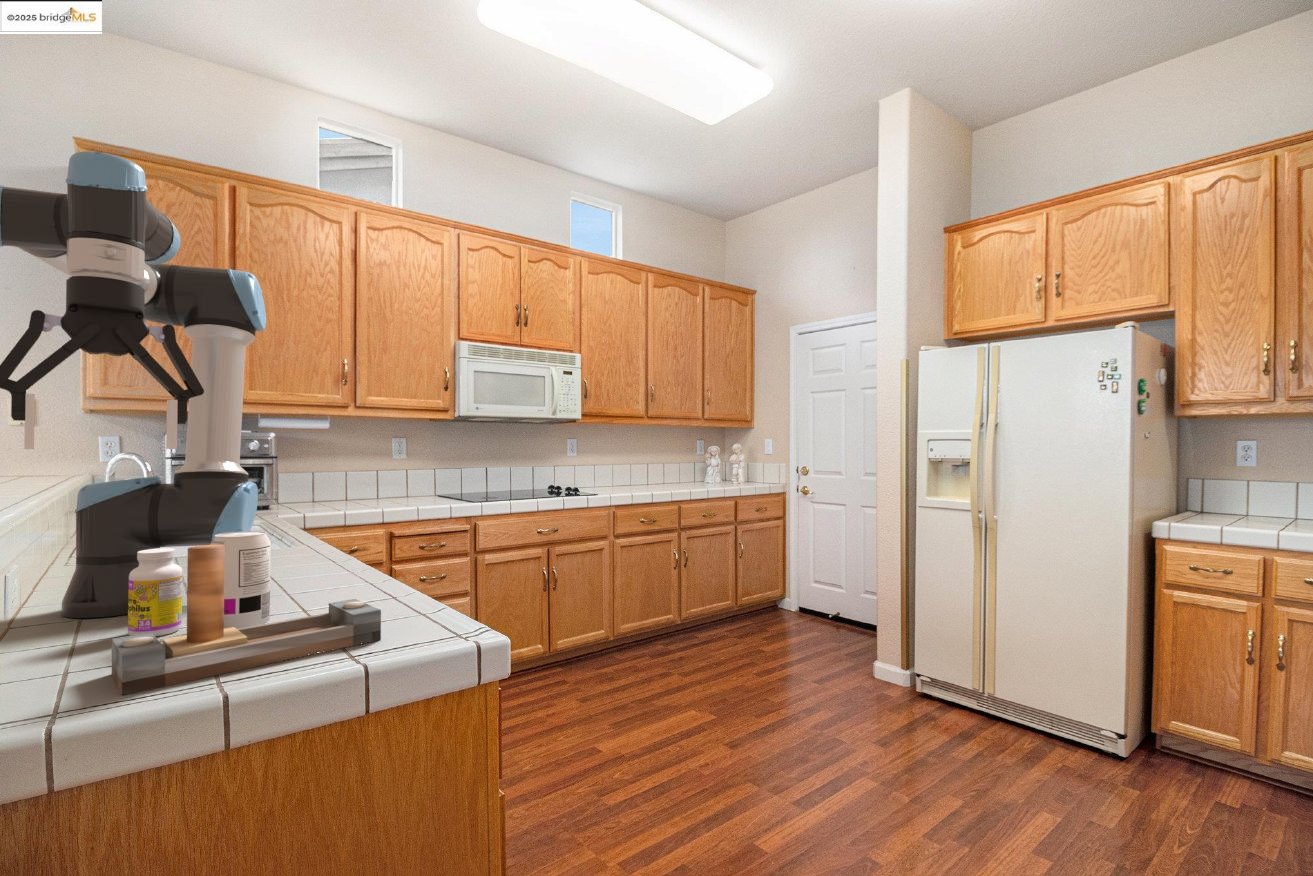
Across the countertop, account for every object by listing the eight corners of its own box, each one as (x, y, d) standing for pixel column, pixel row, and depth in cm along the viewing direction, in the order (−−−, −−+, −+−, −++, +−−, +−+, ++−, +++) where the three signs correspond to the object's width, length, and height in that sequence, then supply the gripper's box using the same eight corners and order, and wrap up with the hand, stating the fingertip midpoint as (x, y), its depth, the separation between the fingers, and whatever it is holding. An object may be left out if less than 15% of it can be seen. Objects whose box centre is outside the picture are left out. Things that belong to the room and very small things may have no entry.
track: (111, 674, 82) (112, 635, 82) (354, 627, 103) (355, 596, 103) (122, 695, 75) (122, 653, 75) (380, 640, 96) (380, 607, 96)
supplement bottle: (117, 636, 98) (118, 552, 98) (164, 625, 104) (165, 546, 105) (145, 641, 96) (146, 554, 96) (191, 629, 102) (192, 548, 102)
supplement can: (205, 637, 98) (206, 538, 98) (213, 624, 105) (214, 532, 105) (267, 630, 101) (268, 535, 101) (271, 618, 109) (271, 529, 109)
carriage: (162, 654, 84) (163, 547, 85) (233, 641, 90) (234, 541, 90) (172, 667, 79) (174, 553, 80) (247, 652, 85) (248, 546, 85)
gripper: (-41, 253, 70) (-44, 449, 69) (230, 293, 87) (228, 448, 87) (-38, 266, 75) (-41, 449, 74) (217, 301, 93) (215, 448, 92)
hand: (104, 449), depth 81 cm, fingers open, 13 cm apart
